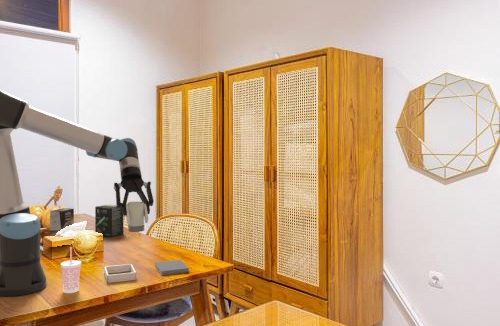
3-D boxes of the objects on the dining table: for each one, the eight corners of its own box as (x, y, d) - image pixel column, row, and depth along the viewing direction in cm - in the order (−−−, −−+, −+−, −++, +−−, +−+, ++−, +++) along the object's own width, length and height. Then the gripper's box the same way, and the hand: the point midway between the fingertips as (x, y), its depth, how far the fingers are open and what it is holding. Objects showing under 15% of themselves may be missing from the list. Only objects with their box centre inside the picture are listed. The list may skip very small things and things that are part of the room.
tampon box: (123, 234, 216) (123, 205, 216) (109, 237, 208) (109, 208, 208) (109, 231, 222) (109, 204, 221) (94, 234, 214) (94, 206, 214)
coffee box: (62, 247, 189) (61, 211, 188) (49, 246, 190) (49, 210, 189) (74, 242, 197) (74, 208, 197) (62, 241, 199) (62, 207, 198)
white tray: (107, 282, 142) (107, 275, 142) (104, 273, 152) (104, 266, 152) (136, 279, 146) (136, 272, 146) (131, 270, 156) (131, 263, 156)
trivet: (161, 275, 151) (161, 271, 151) (155, 266, 162) (155, 262, 162) (188, 272, 155) (188, 268, 155) (180, 263, 166) (180, 259, 166)
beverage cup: (58, 294, 131) (58, 250, 130) (63, 287, 137) (63, 245, 136) (79, 293, 132) (79, 249, 131) (83, 286, 138) (83, 244, 137)
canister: (129, 232, 148) (129, 204, 147) (127, 229, 153) (126, 202, 152) (145, 231, 150) (145, 203, 149) (142, 228, 155) (142, 201, 155)
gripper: (153, 177, 168) (162, 225, 154) (104, 178, 161) (109, 229, 147) (156, 164, 163) (165, 213, 149) (105, 165, 156) (110, 217, 142)
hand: (137, 221), depth 148 cm, fingers closed on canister, 6 cm apart
